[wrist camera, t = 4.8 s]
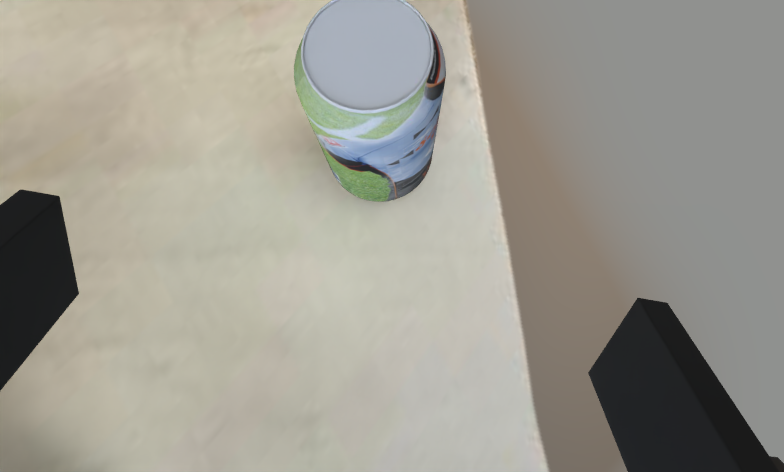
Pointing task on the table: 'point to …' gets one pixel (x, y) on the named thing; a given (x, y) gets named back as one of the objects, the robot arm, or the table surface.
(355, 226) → the table surface
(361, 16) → the beverage can
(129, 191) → the table surface
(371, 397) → the table surface
